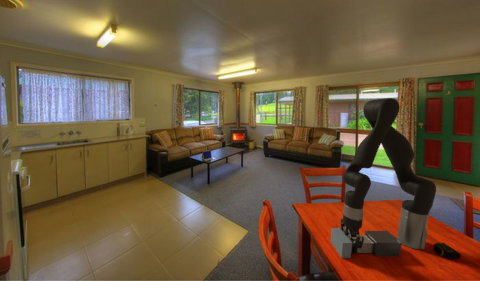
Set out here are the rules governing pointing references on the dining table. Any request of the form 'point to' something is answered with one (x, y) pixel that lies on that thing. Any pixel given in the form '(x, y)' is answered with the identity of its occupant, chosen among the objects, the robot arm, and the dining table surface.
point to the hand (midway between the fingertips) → (349, 247)
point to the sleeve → (385, 244)
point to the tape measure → (446, 251)
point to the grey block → (341, 243)
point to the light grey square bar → (365, 245)
